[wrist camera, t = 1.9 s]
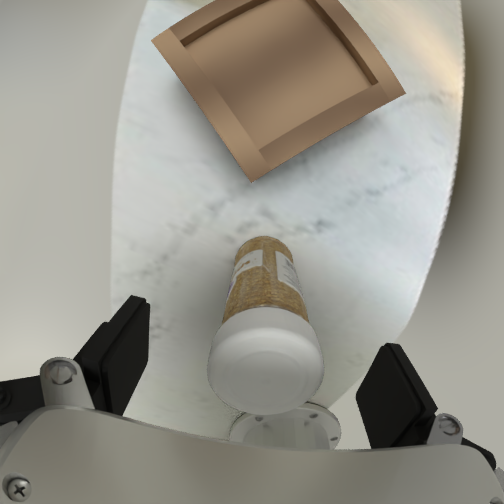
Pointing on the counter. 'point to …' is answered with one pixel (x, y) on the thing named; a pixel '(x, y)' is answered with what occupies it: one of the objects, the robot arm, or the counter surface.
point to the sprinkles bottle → (265, 335)
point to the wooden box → (277, 74)
